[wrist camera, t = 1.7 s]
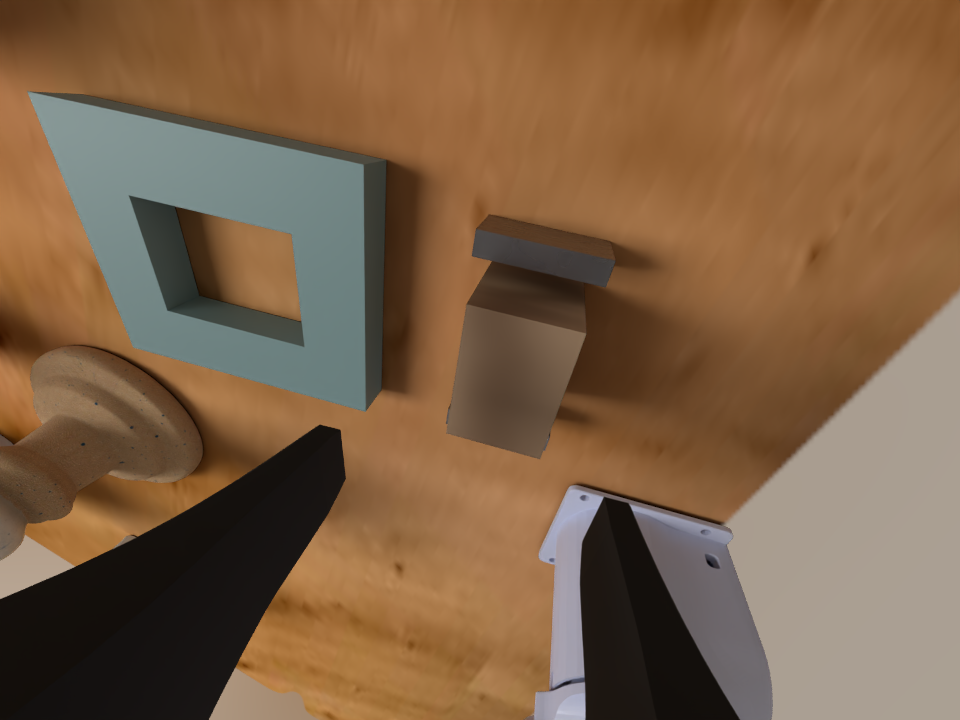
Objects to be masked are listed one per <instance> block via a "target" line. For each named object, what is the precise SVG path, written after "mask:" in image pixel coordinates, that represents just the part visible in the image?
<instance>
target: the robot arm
mask: <svg viewBox="0 0 960 720" xmlns="http://www.w3.org/2000/svg"><path fill="white" fill-rule="evenodd" d="M345 479H346V477H345V467H344V458H343V449H342V440H341V431H340V430H339V429H335V428H331V427H327V426H323V425H319V426H317V427H315V428H314V429H312V430H311V431H309V432H308V433H306V434H305V435H304V436H302V437H301V438H299V439H298V440H296V441H295V442H293V443H292V444H290V445H289V446H287V447H286V448H285V449H283V450H282V451H280V452H279V453H277V454H276V455H274V456H273V457H271V458H270V459H268V460H267V461H265V462H264V463H262V464H261V465H259V466H258V467H256V468H255V469H253V470H252V471H250V472H249V473H247V474H245V475H244V476H242V477H241V478H239V479H238V480H236V481H235V482H233V483H231V484H230V485H228V486H227V487H225V488H223V489H222V490H220V491H218V492H217V493H215V494H213V495H212V496H210V497H208V498H207V499H205V500H203V501H202V502H200V503H198V504H197V505H195V506H193V507H192V508H190V509H188V510H186V511H185V512H183V513H181V514H179V515H178V516H176V517H174V518H172V519H170V520H169V521H167V522H165V523H163V524H161V525H159V526H157V527H155V528H154V529H152V530H150V531H148V532H146V533H144V534H142V535H140V536H138V537H136V538H134V539H132V540H130V541H128V542H126V543H124V544H122V545H120V546H118V547H116V548H114V549H112V550H110V551H108V552H105V553H103V554H101V555H99V556H97V557H95V558H93V559H91V560H89V561H86V562H84V563H82V564H80V565H78V566H76V567H74V568H72V569H70V570H67V571H65V572H63V573H60V574H58V575H56V576H54V577H51V578H49V579H46V580H44V581H42V582H40V583H37V584H35V585H33V586H30V587H28V588H26V589H23V590H21V591H19V592H16V593H14V594H12V595H9V596H7V597H4V598H2V599H0V720H209V718H210V716H211V714H212V712H213V710H214V708H215V706H216V704H217V702H218V700H219V698H220V696H221V694H222V692H223V690H224V688H225V686H226V684H227V682H228V680H229V678H230V676H231V674H232V672H233V671H234V669H235V667H236V665H237V663H238V661H239V659H240V657H241V655H242V653H243V651H244V650H245V648H246V646H247V644H248V642H249V640H250V639H251V637H252V635H253V633H254V631H255V629H256V627H257V626H258V624H259V622H260V620H261V618H262V616H263V615H264V613H265V611H266V609H267V608H268V606H269V604H270V603H271V601H272V599H273V598H274V596H275V594H276V593H277V591H278V590H279V588H280V587H281V585H282V584H283V582H284V581H285V579H286V578H287V576H288V574H289V573H290V571H291V570H292V568H293V567H294V565H295V564H296V562H297V561H298V559H299V558H300V556H301V555H302V553H303V552H304V550H305V549H306V547H307V546H308V544H309V543H310V541H311V540H312V538H313V536H314V535H315V533H316V532H317V530H318V529H319V527H320V526H321V524H322V523H323V521H324V519H325V518H326V516H327V515H328V513H329V511H330V509H331V507H332V505H333V503H334V501H335V500H336V498H337V496H338V494H339V491H340V489H341V487H342V485H343V483H344V481H345ZM584 495H586V496H584ZM732 538H733V534H732V532H731V530H730V529H729V528H727V527H725V526H721V525H718V524H714V523H711V522H707V521H703V520H700V519H696V518H693V517H689V516H686V515H682V514H678V513H675V512H671V511H668V510H664V509H661V508H657V507H653V506H650V505H646V504H643V503H639V502H636V501H632V500H628V499H625V498H621V497H618V496H614V495H611V494H607V493H603V492H600V491H596V490H593V489H589V488H586V487H582V486H578V485H572V486H570V487H569V488H568V490H567V492H566V494H565V496H564V498H563V501H562V503H561V505H560V507H559V509H558V511H557V514H556V516H555V518H554V520H553V522H552V524H551V527H550V529H549V531H548V533H547V535H546V537H545V540H544V542H543V544H542V546H541V548H540V550H539V559H540V560H542V561H544V562H547V563H550V564H554V565H555V576H554V598H553V621H552V643H551V665H550V687H549V691H545V692H541V691H537V692H536V698H535V713H534V715H533V716H528V717H526V718H525V719H524V720H771V719H772V707H773V700H772V684H771V677H770V671H769V667H768V662H767V659H766V656H765V652H764V649H763V646H762V644H761V641H760V638H759V635H758V632H757V630H756V627H755V624H754V621H753V618H752V615H751V613H750V610H749V607H748V604H747V601H746V598H745V596H744V593H743V590H742V587H741V584H740V582H739V579H738V576H737V573H736V570H735V568H734V565H733V562H732V559H731V556H730V554H729V551H728V548H727V544H728V543H729V542H730V541H731V540H732Z"/></svg>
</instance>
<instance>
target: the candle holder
mask: <svg viewBox="0 0 960 720" xmlns="http://www.w3.org/2000/svg"><path fill="white" fill-rule="evenodd" d="M30 380H31V386H32V389H33V392H34V397H33V404H34V408H35V411H36V414H37V415H38V417H39V419H40V421H41V422H42V424H43V425H42V426H40V427H39V428H37V429H36V430H35V431H33V432H32V433H30V434H29V435H28V436H26V437H25V438H23V439H22V440H20V441H19V442H18V443H16V444H15V445H13V446H1V447H0V561H1V560H2V559H4V558H6V557H7V556H9V555H10V554H12V553H13V552H14V551H15V550H16V549H17V548H18V547H19V546H20V545H21V543H22V541H23V538H24V535H25V530H26V526H27V524H28V523H41V522H44V521H47V520H57V519H60V518H63V517H65V516H66V515H68V514H69V513H70V511H71V510H72V507H73V502H74V500H75V498H76V493H77V492H78V491H79V490H81V489H82V488H84V487H86V486H87V485H89V484H90V483H92V482H94V481H95V480H97V479H99V478H100V477H102V476H104V475H105V474H109V475H112V476H115V477H118V478H122V479H126V480H145V481H150V482H157V483H167V482H175V481H178V480H181V479H183V478H185V477H186V476H188V475H189V474H190V473H192V472H193V471H194V470H195V469H196V467H197V466H198V465H199V463H200V462H201V459H202V455H203V445H202V440H201V437H200V434H199V432H198V429H197V427H196V426H195V424H194V422H193V420H192V419H191V417H190V416H189V415H188V413H187V412H186V410H185V409H184V408H183V407H182V405H181V404H180V403H179V402H178V401H177V400H176V399H175V398H174V397H173V396H172V395H171V394H170V393H169V392H168V391H167V390H166V389H165V388H164V387H163V386H162V385H160V384H159V383H158V382H157V381H155V380H154V379H153V378H152V377H150V376H149V375H147V374H146V373H145V372H143V371H142V370H140V369H139V368H137V367H135V366H134V365H132V364H130V363H129V362H127V361H125V360H123V359H121V358H119V357H117V356H115V355H113V354H110V353H107V352H105V351H102V350H99V349H95V348H91V347H86V346H75V345H74V346H64V347H59V348H57V349H54V350H51V351H49V352H46V353H45V354H43V355H42V356H41V357H39V358H38V359H37V360H36V361H35V362H34V364H33V366H32V369H31V376H30Z"/></svg>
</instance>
